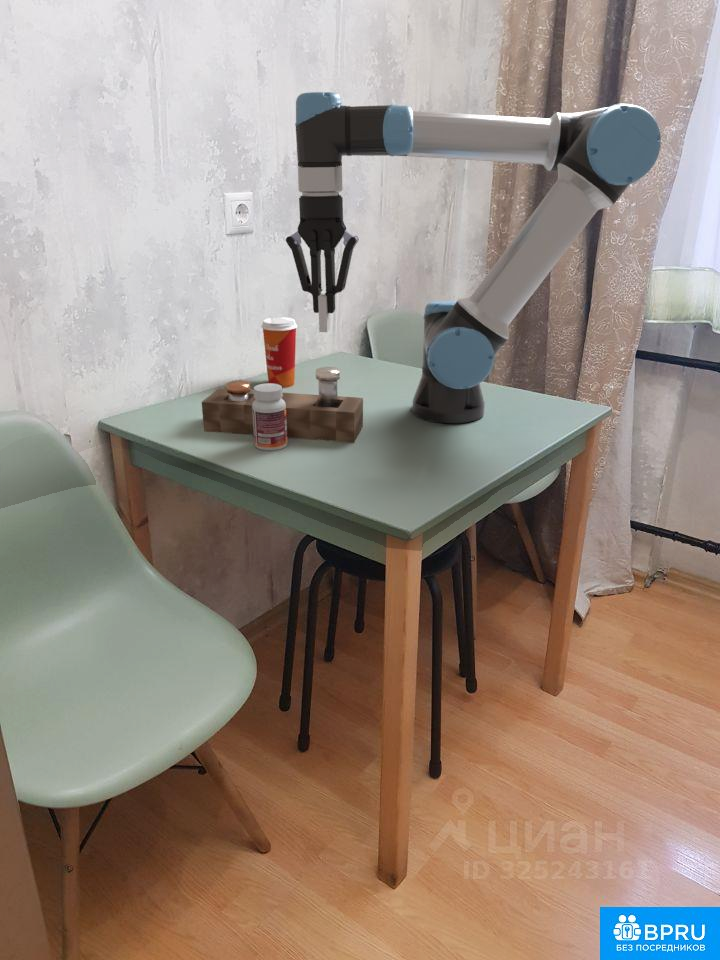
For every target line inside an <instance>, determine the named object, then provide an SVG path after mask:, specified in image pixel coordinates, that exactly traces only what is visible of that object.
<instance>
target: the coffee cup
mask: <svg viewBox="0 0 720 960" xmlns="http://www.w3.org/2000/svg"><path fill="white" fill-rule="evenodd" d="M260 327H261V329H262V333H263V341H264V342H263V343H264V353H265V363H266V370H267V380H268V383H272V384H278V385H281V386H282V389H283V388H284V389H285V388H289V387H290V388H291V387H292V386H294V385H295V378H296V377H295V375H296V373H295V372H296V371H295V370H296V342H297V339H296V338H297V337H296V336H297V328H298V324H297V323H296V319H294V318H292V317H286V316H285V317H284V316H280V317H271V318H270V317H267V318H265V319H263V321H262V324H261V326H260Z"/></svg>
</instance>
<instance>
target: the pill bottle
mask: <svg viewBox="0 0 720 960" xmlns="http://www.w3.org/2000/svg"><path fill="white" fill-rule="evenodd" d="M253 391H254V398H255V399H256V400H255V401H254V402H253V404H252V413H253V429H254V435H253V441H254V447H256V448H257V449H258V450H261V451H278V450H281V449H285V447H286V446H287V445H288V438H287V419H286V403H285V401H284V400H283V399H281V398H282V397H283V393H284V392H283V388H282V386H281V385H278V384H272V383H269V382H268V383H261V384H256V385H255V386H253Z"/></svg>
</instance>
